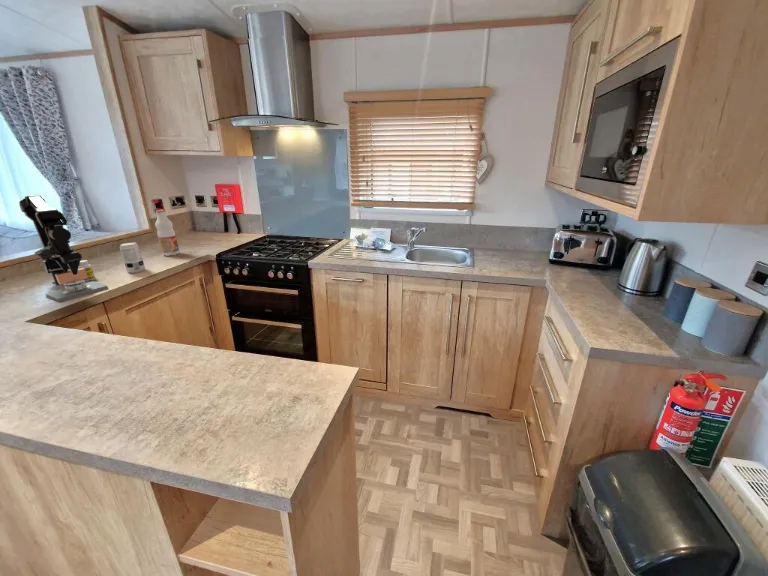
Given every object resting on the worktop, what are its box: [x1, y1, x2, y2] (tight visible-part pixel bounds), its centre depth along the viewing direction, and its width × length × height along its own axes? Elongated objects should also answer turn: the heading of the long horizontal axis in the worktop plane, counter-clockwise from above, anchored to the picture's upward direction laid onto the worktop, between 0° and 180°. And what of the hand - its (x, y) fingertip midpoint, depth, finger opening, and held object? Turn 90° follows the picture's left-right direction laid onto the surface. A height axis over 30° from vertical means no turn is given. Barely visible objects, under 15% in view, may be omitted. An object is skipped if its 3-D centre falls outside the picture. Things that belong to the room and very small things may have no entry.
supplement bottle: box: [78, 259, 96, 282], centre depth 169 cm, size 5×5×10 cm
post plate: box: [44, 280, 109, 303], centre depth 153 cm, size 14×18×4 cm
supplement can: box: [119, 242, 146, 274], centre depth 180 cm, size 8×8×15 cm
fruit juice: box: [154, 209, 180, 257], centre depth 209 cm, size 9×9×28 cm
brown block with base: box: [55, 268, 88, 292], centre depth 152 cm, size 9×10×8 cm
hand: (70, 273), depth 150 cm, fingers open, 9 cm apart
